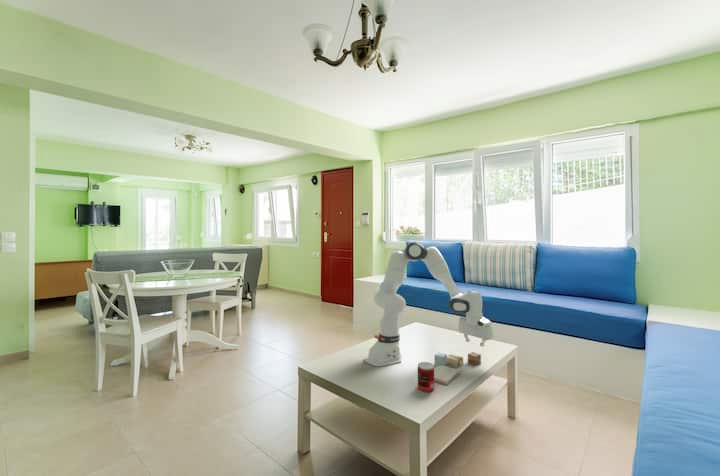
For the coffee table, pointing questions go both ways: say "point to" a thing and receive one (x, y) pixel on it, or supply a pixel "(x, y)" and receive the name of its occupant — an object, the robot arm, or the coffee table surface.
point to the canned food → (426, 377)
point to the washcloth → (445, 374)
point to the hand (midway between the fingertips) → (474, 343)
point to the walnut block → (474, 358)
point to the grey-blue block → (440, 359)
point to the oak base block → (454, 360)
